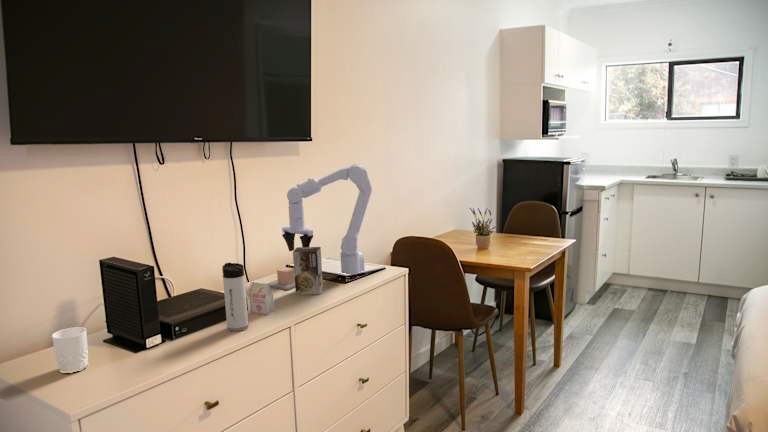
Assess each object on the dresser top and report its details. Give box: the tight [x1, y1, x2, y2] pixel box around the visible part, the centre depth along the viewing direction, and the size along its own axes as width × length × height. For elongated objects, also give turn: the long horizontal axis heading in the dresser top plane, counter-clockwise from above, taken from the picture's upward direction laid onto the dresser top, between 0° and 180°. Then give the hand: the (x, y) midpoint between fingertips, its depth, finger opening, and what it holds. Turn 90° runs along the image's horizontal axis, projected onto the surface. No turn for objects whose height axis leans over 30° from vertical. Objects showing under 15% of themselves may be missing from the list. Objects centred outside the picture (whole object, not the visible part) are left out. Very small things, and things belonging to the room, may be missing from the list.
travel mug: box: [222, 262, 249, 332], centre depth 174 cm, size 6×7×20 cm
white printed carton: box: [248, 281, 275, 316], centre depth 188 cm, size 4×7×10 cm, turn 65°
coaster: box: [266, 279, 296, 292], centre depth 219 cm, size 12×12×1 cm
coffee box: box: [292, 246, 324, 295], centre depth 207 cm, size 9×6×16 cm
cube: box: [276, 266, 295, 285], centre depth 218 cm, size 5×5×5 cm
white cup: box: [51, 326, 89, 371], centre depth 149 cm, size 8×8×10 cm
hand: (298, 251), depth 226 cm, fingers open, 7 cm apart
